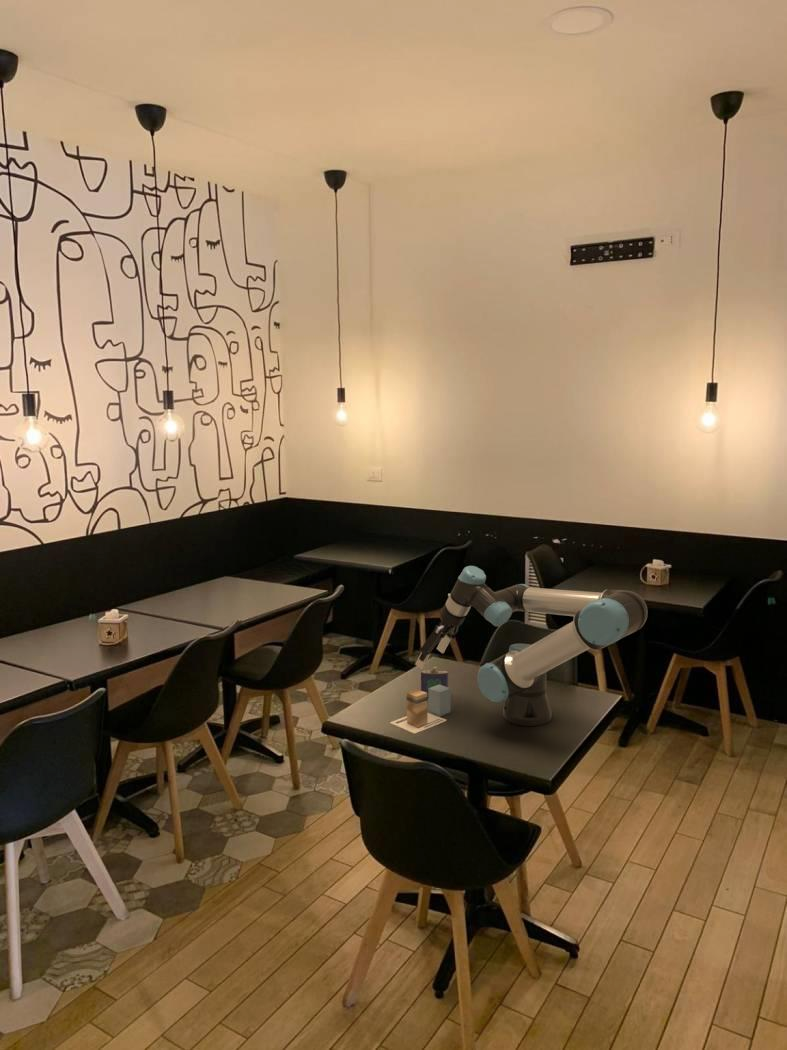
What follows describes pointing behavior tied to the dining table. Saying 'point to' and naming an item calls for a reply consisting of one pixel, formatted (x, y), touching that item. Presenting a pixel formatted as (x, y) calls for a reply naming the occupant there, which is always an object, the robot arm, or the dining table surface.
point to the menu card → (432, 722)
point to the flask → (433, 679)
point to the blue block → (439, 700)
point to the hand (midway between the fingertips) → (429, 658)
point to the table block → (417, 708)
